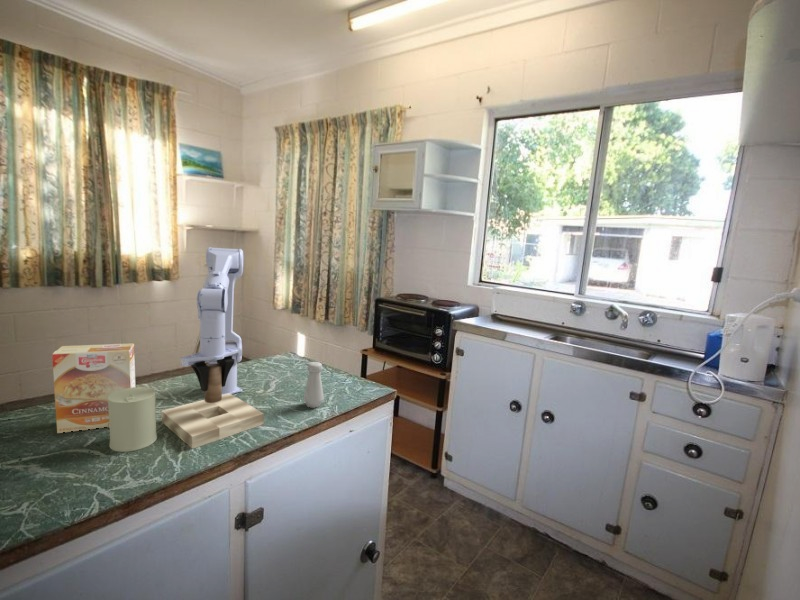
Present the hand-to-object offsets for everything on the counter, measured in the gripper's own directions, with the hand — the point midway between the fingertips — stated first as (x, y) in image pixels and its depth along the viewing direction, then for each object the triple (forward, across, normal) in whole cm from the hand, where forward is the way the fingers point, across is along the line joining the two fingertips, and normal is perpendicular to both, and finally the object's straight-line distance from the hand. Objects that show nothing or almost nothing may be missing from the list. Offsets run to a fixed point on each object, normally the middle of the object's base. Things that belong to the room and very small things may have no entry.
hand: (213, 387), depth 103 cm
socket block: (+10, 0, 0) cm, 10 cm away
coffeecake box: (+10, -20, +18) cm, 29 cm away
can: (+10, -17, +3) cm, 20 cm away
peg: (+3, 0, 0) cm, 3 cm away
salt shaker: (+10, +26, -8) cm, 29 cm away
